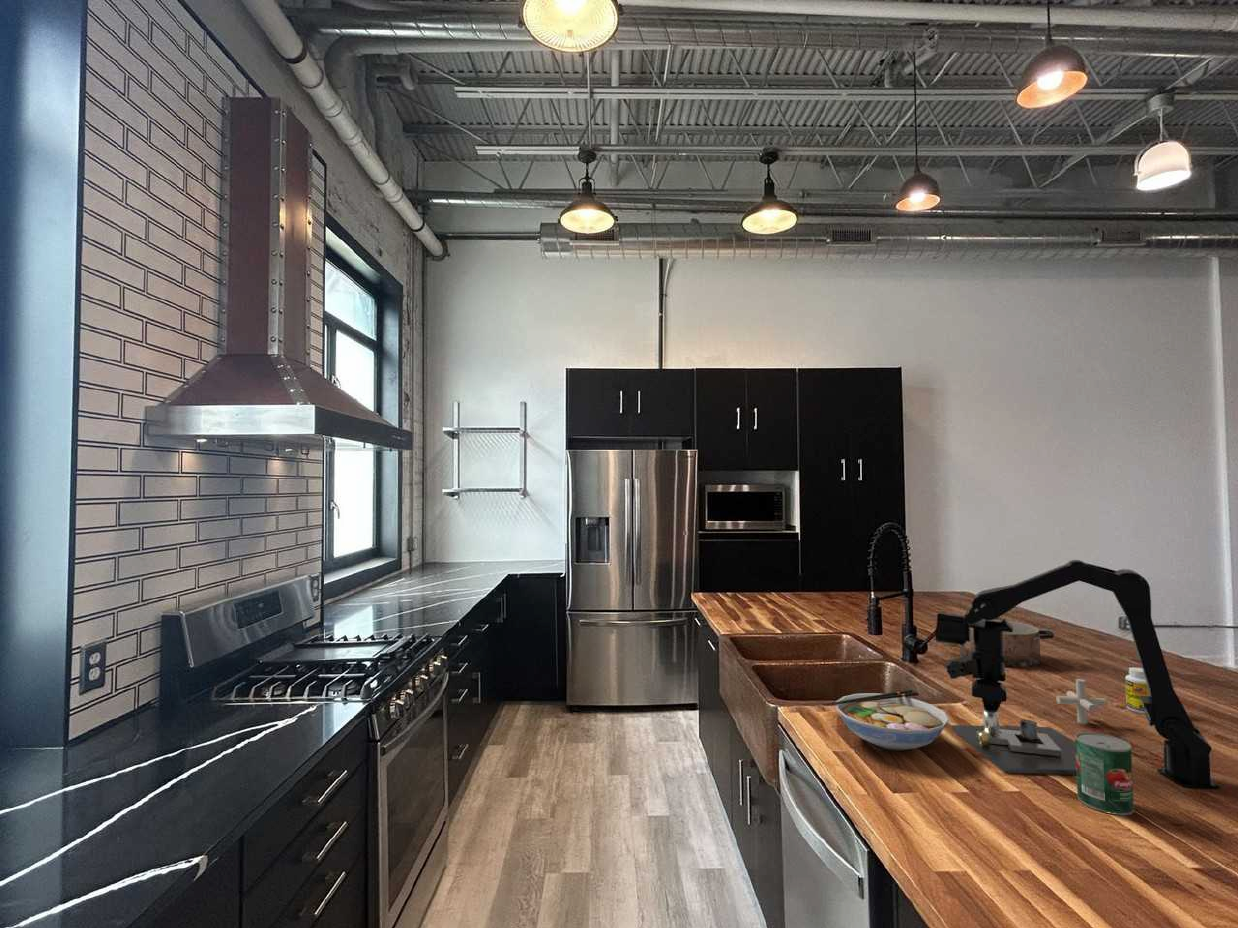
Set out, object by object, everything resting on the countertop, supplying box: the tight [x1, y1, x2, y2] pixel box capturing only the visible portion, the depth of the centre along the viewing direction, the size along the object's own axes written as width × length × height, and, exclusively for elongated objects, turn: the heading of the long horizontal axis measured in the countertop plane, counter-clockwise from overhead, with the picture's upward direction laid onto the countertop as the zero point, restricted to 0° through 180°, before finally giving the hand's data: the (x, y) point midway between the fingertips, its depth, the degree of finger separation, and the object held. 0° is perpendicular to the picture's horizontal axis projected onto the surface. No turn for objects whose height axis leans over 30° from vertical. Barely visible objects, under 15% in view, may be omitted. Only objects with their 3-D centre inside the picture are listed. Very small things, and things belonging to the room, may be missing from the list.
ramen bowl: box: [822, 689, 950, 752], centre depth 133 cm, size 25×23×8 cm
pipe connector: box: [1055, 678, 1108, 725], centre depth 145 cm, size 10×10×10 cm
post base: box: [951, 719, 1077, 776], centre depth 129 cm, size 22×22×6 cm
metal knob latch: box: [976, 708, 1062, 757], centre depth 130 cm, size 14×9×6 cm, turn 71°
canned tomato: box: [1074, 731, 1135, 816], centre depth 108 cm, size 8×8×11 cm
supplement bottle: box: [1125, 667, 1148, 715], centre depth 153 cm, size 6×6×10 cm
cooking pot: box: [959, 619, 1055, 669], centre depth 201 cm, size 30×22×11 cm
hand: (989, 719), depth 135 cm, fingers closed
